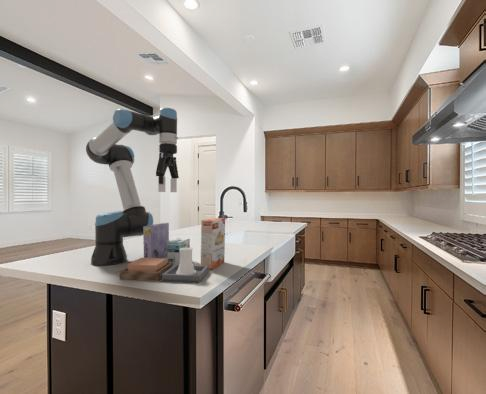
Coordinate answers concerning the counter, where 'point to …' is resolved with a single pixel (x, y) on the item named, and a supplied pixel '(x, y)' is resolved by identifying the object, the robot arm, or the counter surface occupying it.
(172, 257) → the light bulb box
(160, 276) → the wooden square frame
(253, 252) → the counter surface
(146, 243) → the cake pan box
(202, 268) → the tray
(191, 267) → the vase
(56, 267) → the counter surface
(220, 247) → the cracker box
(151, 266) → the orange square slab
